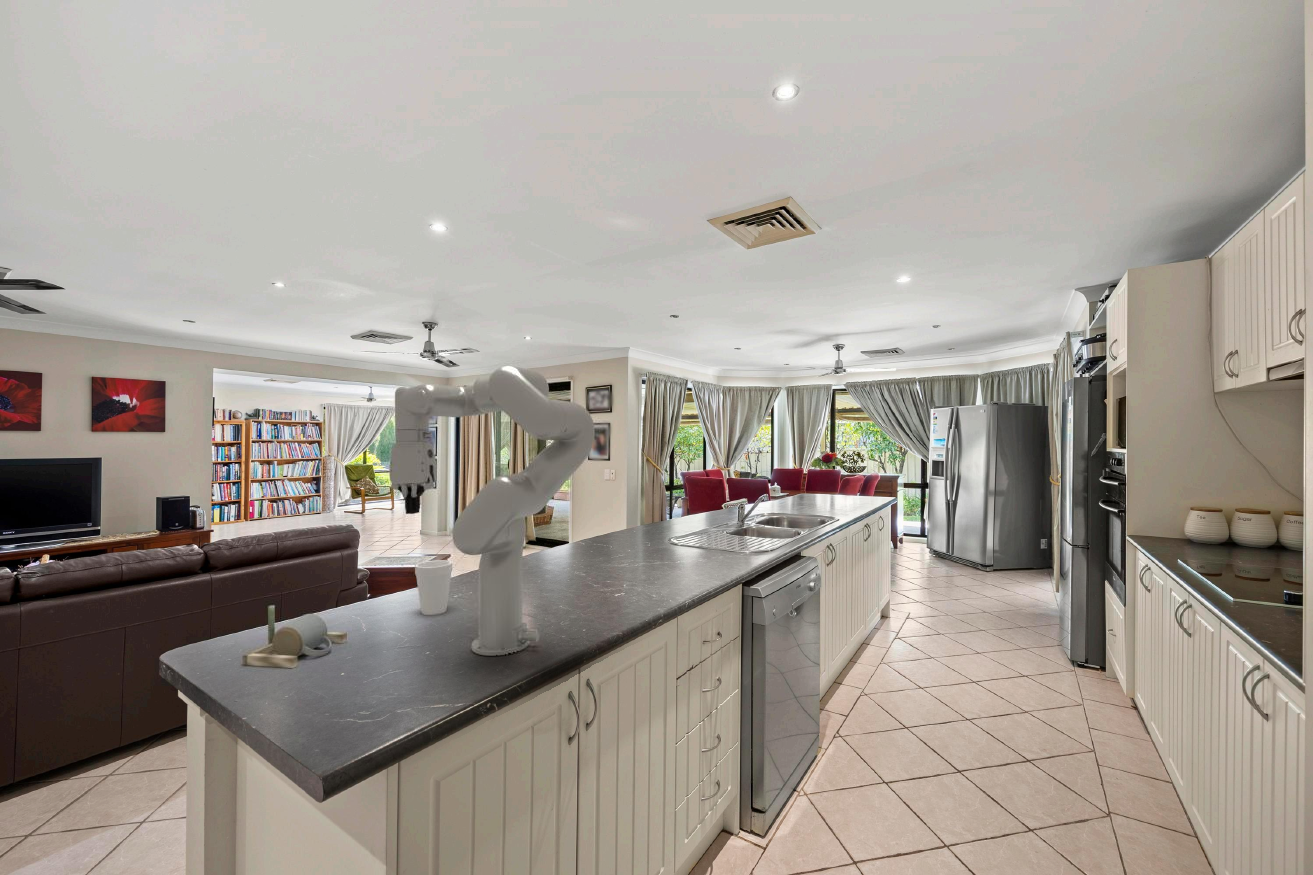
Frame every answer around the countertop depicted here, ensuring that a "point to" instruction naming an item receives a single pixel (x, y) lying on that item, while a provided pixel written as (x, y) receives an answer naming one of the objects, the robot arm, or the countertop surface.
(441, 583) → the foam cup
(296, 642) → the ceramic mug
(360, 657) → the countertop surface
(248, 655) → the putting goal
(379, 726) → the countertop surface
